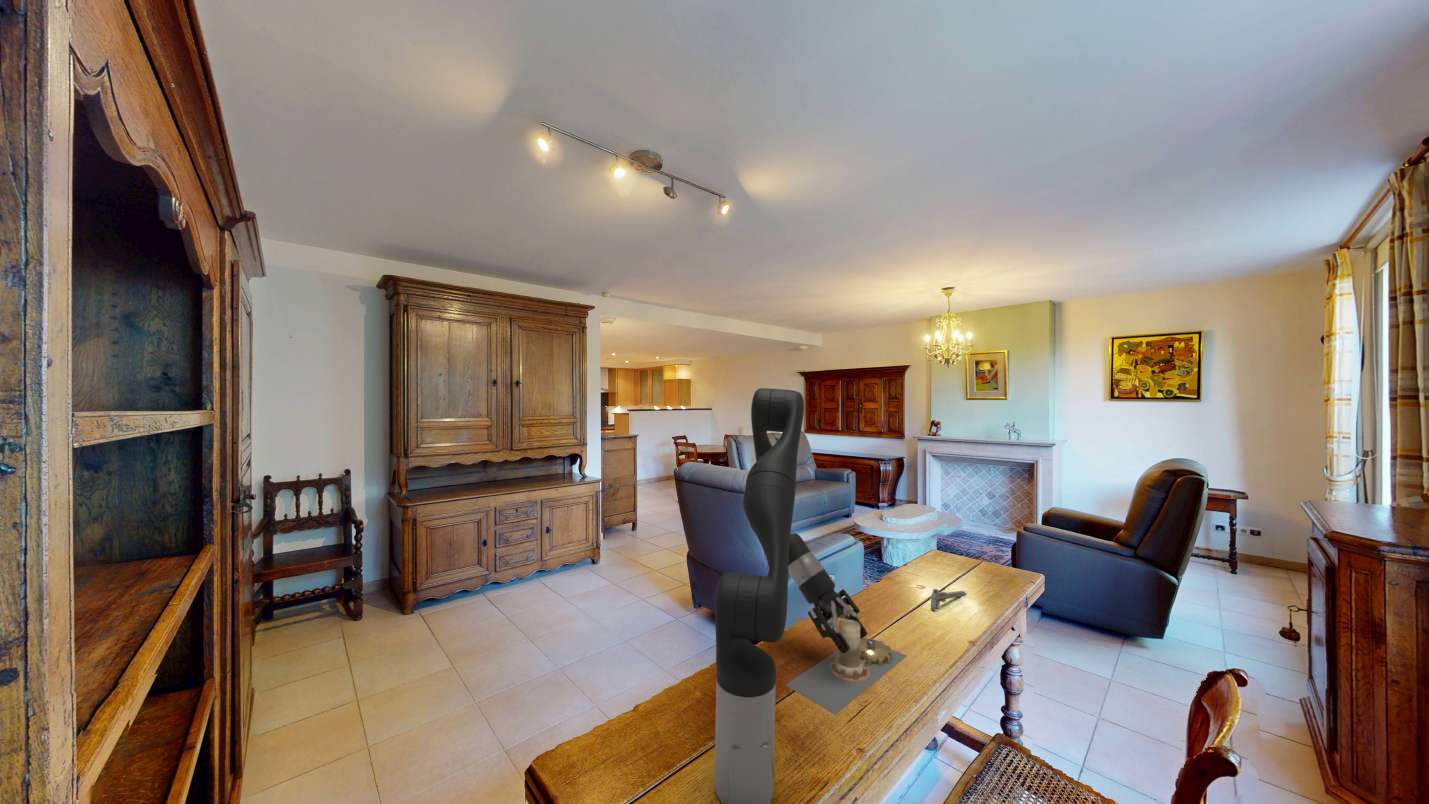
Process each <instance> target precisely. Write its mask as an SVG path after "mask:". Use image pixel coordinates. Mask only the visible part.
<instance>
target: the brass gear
mask: <svg viewBox="0 0 1429 804" xmlns="http://www.w3.org/2000/svg"><path fill="white" fill-rule="evenodd" d="M865 638H866V637H863V638H862V639H860V659H861V660H865V661H866V662H867V664H868V665H871V664H878V665H879V666H882V664H883V663H887V664H889V663H890V659H891V660H892V651H891V649H892V647H891V646H890V645H886V644H885V642H884V641H883V640H877V639H874V637H870V638H866V639H865Z"/></svg>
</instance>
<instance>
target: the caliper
mask: <svg viewBox="0 0 1429 804" xmlns="http://www.w3.org/2000/svg"><path fill="white" fill-rule="evenodd" d="M964 595H965V596H966V595H967V592H966V591H964V590H955V591H947V592H946V591H940V590H939V589H938V588H933V590H932V593H931V598H930V610H931V611H933V612H936V610H935V609H938V610H939V607H940V603H946V600H948V599H954V598H955V599H956V598H962V596H963V597H965V596H964Z"/></svg>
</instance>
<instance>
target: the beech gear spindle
mask: <svg viewBox="0 0 1429 804" xmlns="http://www.w3.org/2000/svg"><path fill="white" fill-rule="evenodd" d="M838 631H839V632H840V633H841V634H842V636H843V637H844V639H845V640H846V642H847V643H848V645H849V646H850V650H849V651H847V652H846V653H844V654H843V653H841V651H840V650H839V649H838V650H839V655H837V656H834V655H833V656H832V657H831V670H832V671H833V672H835V671H836V672H837V673H838V674H840V677H841V678H845V677H847V678H854V680H859V677H861V676H865V677H866V676H867V662H866V661H865V660H861V659H860V624H859V623H858V622H856V621H854V620H849V619H841V620H840V621H839V627H838ZM839 632H838V633H839Z"/></svg>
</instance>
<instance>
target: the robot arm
mask: <svg viewBox="0 0 1429 804" xmlns="http://www.w3.org/2000/svg"><path fill="white" fill-rule="evenodd" d="M804 402H805V401H804V397H803V395H802V393H801V392H800V391H797V390H795V389H794V390H793V389H785V388H784V389H783V388H782V389H780V388H768V387H767V388H765V387H763V388H762V387H761V388H758V389H756V390H755V392H754V394H753V397H752V400H751V409H750V421H751V429H752V437H753V439H752V440H753V449H754V454H755V461H756V462H755V463H754V464H753V465H752V466H751V468H750V469H749V471H748V472H747V473H748V474H747V475H746V476H747V477H746V483H745V486H744V487H745V488H744V492H743V493H744V495H743V499H742V506H743V511H744V514H745V517H746V519H747V520H748V521H747V522H748V523H749V525H750V527H751V530H752V531H753V533H754V534H755V536H756V537H757V539H758V541H759V543H760V545H761V549H762V550H763V553H764V556H765V559H766V562H767V563H766V564H767V566H768V574H767V576H766V575H765V576H764V575H759V574H758V575H756V574H755V575H754V574H747V573H738V572H726V573H724V574H723V575H722V576H721V577H720V579H719V581H718V583H717V586H716V590H715V596H714V597H715V599H714V623H715V625H714V626H715V661H716V662H715V664H716V676H715V677H716V681H715V682H716V685H715V688H716V689H715V730H714V731H715V732H714V733H715V734H714V735H715V738H714V739H715V740H714V746H715V747H714V791H715V794H716V796H717V798H718V800H719V801H720V802H721V804H771V803H772V802H771V801H772V799H773V798H774V797H773V796H774V792H775V791H774V789H775V787H774V786H775V784H774V783H775V734H776V733H775V732H776V728H775V726H776V693H777V692H776V688H777V687H776V686H777V685H776V683H777V669H776V667H777V666H776V663H775V660H774V659H773V657H772V655H770V654H769V653H768V652H766V651H765V650H764V649H762V648H760V647H758V646H757V645H755V644H754V643H752V642H751V641H759V642H765V643H778V642H779V641H780V640H781V639H782V637H783V635H784V632H785V629H786V623H787V615H788V614H787V613H788V597H789V595H788V593H789V592H788V591H789V576H790V577H791V579H792V580H793V582H794V584H795V585H796V587H797V588H798V589H799V591H800V593H801V594H802V596H803V597H804V599H805V601H806V602H807V603H808V604H809V605H812V604H813V606H814V607H813V608H811V609H809V611H807V614H808V616H809V618H810V619H811V622H812V623H813V624H814V626H815V628H816V629H817V631H818V633H819V635H820V636H821V638H822V639H826V638H829V639H831V640H832V641H833V643H834V644H835V646H836V648H837V649H838V650H840V651H841V653H843V654H844V653H846V652H847V651H849V650H850V646H849V645H848V643H847V642H846V640H845V639H844V637H843V636H842V634H841V633H840V632H839V627H838V618H839V619H843V620H845V619H849V620H854V621H856V622H858V623H859V624H860V639H862V638H863V637H864V638H866V636H867V635H868V631H867V630H866V628H865V626H864V625H863V624H862V622H861V620H860V619H859V615H858V614H859V613H861V610H860V609H859V607H858V606H857V605H856V603H855V602H854V601H853V599H852V598H851V596H850V595H849V594H848V592H847V591H846V590H845V589H843V588H842V589H841V590H839V591H838V592H836V591H835V588H836V584H835V582H834V581H833V579H832V578H831V576H830V575H829V573H828V571H827V570H826V569H825V567H823V565H822V563H821V562H820V561H819V559H818V557H816V556H815V554H814V553H813V552H812V551H811V550H810V548H809V546H808V545H807V544H806V542H805V540H804V539H803V538H802V536H800V534H798V533H795V532H793V533H792V525H793V514H794V509H795V508H794V507H795V499H796V489H797V486H796V485H797V471H798V470H797V467H798V465H797V463H798V454H799V453H798V452H799V445H800V440H801V439H800V438H801V433H802V427H803V421H804V414H805V413H804V412H805V403H804ZM768 432H775V433H781V436H780V437H779V439H778V440H777V441H776V442H775V444H772V443H771V441H770V439H769V435H768ZM851 608H852V609H851ZM822 626H823V627H824V628H823V627H822ZM749 640H750V641H749Z"/></svg>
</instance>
